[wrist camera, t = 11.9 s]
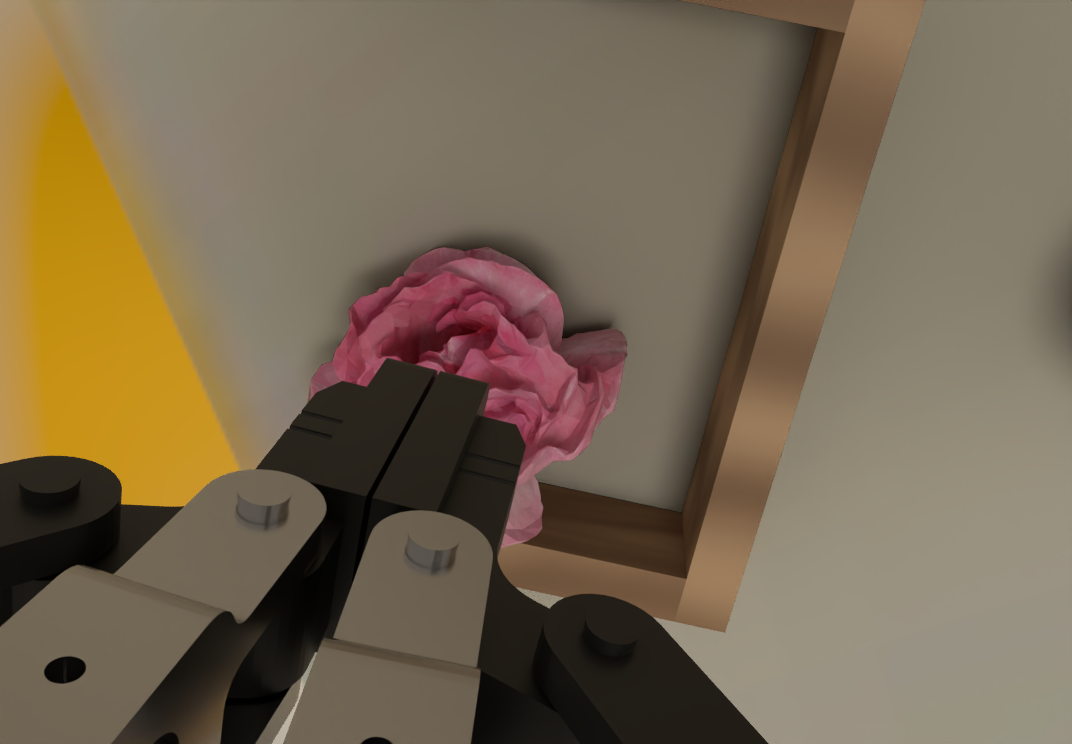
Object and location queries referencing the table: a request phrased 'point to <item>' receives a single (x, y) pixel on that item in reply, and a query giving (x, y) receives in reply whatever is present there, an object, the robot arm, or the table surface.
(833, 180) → the wooden slat frame
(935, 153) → the table surface
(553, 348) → the flower
